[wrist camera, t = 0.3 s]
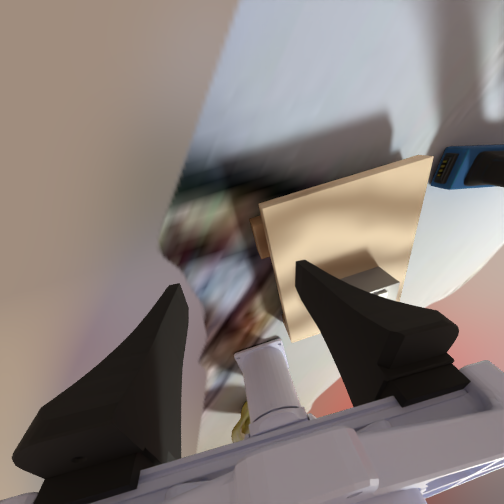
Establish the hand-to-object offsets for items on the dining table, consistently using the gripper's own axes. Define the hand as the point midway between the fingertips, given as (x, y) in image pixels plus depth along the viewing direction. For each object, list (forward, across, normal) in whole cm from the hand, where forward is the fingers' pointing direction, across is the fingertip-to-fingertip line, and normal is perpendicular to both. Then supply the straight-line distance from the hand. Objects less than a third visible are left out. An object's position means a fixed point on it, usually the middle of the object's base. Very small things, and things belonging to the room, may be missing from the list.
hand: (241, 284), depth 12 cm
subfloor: (+10, -12, +6) cm, 17 cm away
